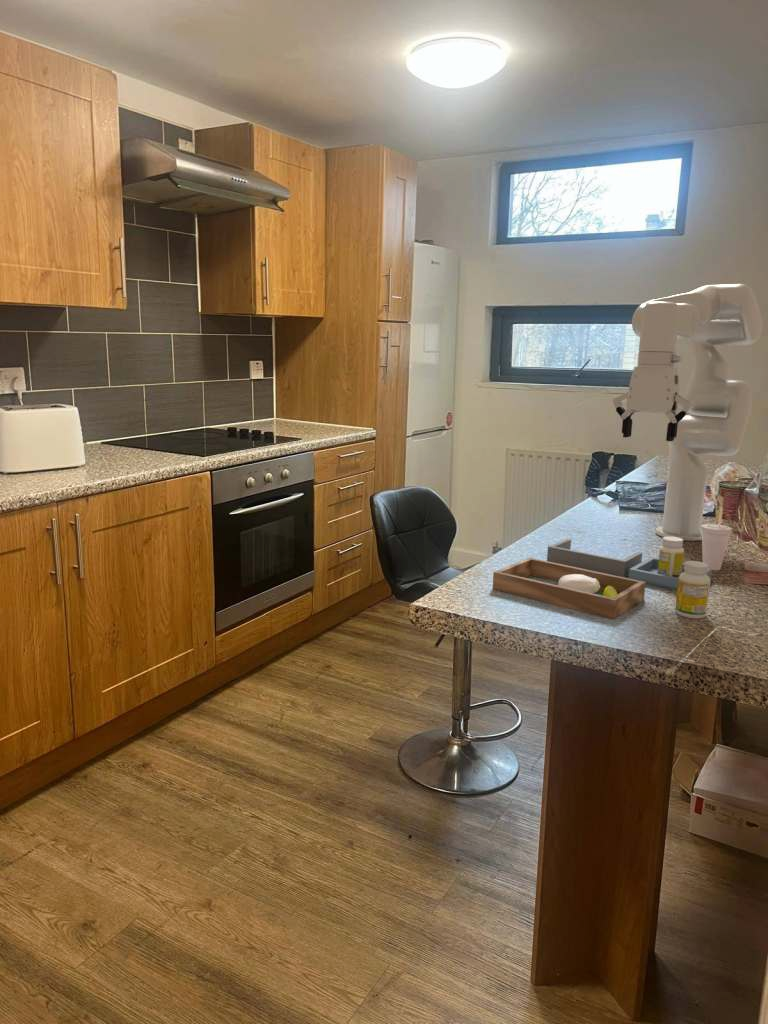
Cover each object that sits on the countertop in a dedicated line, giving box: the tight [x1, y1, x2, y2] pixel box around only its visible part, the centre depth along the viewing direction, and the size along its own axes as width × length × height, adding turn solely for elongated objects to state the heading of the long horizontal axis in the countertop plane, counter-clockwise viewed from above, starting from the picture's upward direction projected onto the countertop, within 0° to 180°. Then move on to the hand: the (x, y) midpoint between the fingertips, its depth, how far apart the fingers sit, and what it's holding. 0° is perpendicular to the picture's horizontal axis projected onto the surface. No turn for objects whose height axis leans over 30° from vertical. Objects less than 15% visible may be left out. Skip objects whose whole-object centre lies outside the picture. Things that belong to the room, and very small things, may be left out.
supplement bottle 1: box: [658, 537, 685, 578], centre depth 155 cm, size 5×5×8 cm
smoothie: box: [701, 507, 733, 571], centre depth 164 cm, size 6×6×14 cm
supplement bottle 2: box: [674, 560, 711, 619], centre depth 134 cm, size 5×5×10 cm
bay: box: [546, 538, 643, 578], centre depth 165 cm, size 10×18×4 cm, turn 51°
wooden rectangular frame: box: [492, 557, 647, 620], centre depth 144 cm, size 15×25×4 cm, turn 51°
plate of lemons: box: [598, 586, 640, 607], centre depth 141 cm, size 8×8×3 cm
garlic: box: [557, 574, 600, 594], centre depth 145 cm, size 8×7×4 cm
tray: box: [627, 557, 713, 592], centre depth 155 cm, size 13×13×2 cm
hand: (648, 438), depth 164 cm, fingers open, 9 cm apart
